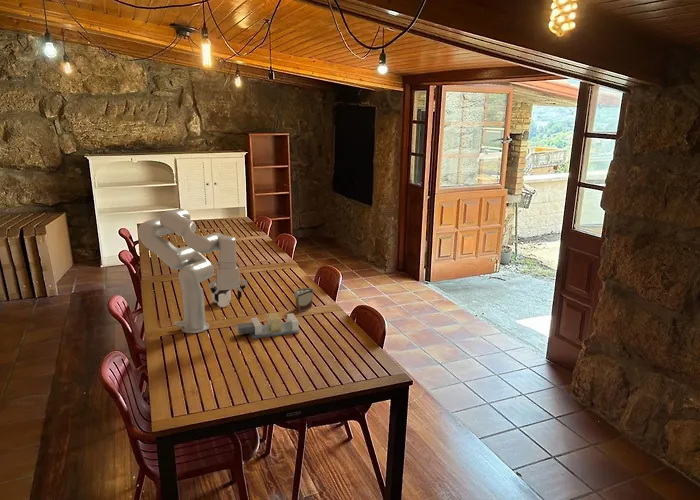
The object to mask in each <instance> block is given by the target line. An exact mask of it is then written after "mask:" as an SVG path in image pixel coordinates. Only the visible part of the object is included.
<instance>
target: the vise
mask: <svg viewBox="0 0 700 500" xmlns="http://www.w3.org/2000/svg"><path fill="white" fill-rule="evenodd" d="M299 321H300V320H299V319H297V317H296V315H295V314H294V313H291V312H290V313H286V321H285V322H284V321H283V322H282V321H281V331H275V332H271V330H270V328H269V326H268V323H266V324H261V326H262V334H258V335H255V333H254V332H253V333H249V335H250V338H251V339H252V340H255V339H262V338H269V337H278V336H284V335H291V334H299V333H300V328H299V327H300V323H299Z"/></svg>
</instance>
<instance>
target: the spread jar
mask: <svg viewBox="0 0 700 500" xmlns="http://www.w3.org/2000/svg"><path fill="white" fill-rule="evenodd" d="M212 287H213V288H214V289H215V288H216V287H217V286H216V284H214V285H213V286H212ZM210 292H211V293H210V294H211V296H210V298H211V302H212V303H213V304H215V305H217V306H218V307H220V308H226V307H228V306H229V305H230V302H231V297H232V294H231V293H232V291H231V290H219V292H218V296H219V302H217V301H216V300H215V293H214V292H212V291H211V290H210Z"/></svg>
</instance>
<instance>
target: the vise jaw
mask: <svg viewBox="0 0 700 500" xmlns="http://www.w3.org/2000/svg"><path fill="white" fill-rule="evenodd" d="M261 325H262V324H261V322H260V321H259V318H258V317H257V316H254V317H250V322H244V323H237V324H236V330H237V333H238V335H244V334H250V333H253V332H254V333H255V335H258V334H262V326H261Z"/></svg>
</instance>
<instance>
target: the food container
mask: <svg viewBox="0 0 700 500" xmlns="http://www.w3.org/2000/svg"><path fill="white" fill-rule="evenodd" d="M293 296H294V298H295V307H296V308H295V309H296V311H297V312H299V313H300V312H303V311H305V310H308V309H310V308H313V307H312V306H313V296H314V288H310V287H303V288H302V287H301V288H298V289H295V291H294V293H293Z"/></svg>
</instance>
